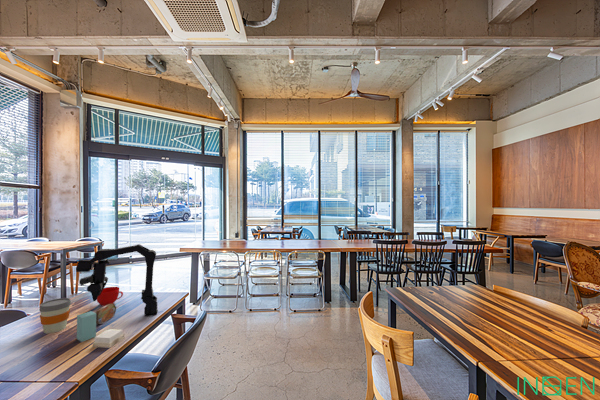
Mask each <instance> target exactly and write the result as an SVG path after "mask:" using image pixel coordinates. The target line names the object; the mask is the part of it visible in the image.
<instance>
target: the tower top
mask: <svg viewBox="0 0 600 400" xmlns="http://www.w3.org/2000/svg"><path fill="white" fill-rule="evenodd" d="M123 332H124V331H123V329H114V328H113V329H110V328H109V329H106V330H104V331H103V332H101V333H100V334H98V335H96V337H94V338H93V339H94V341H93V342H94V343H111V342H112V341H114V340H115V339H117V338H118V337H120V336H121V335H123V334H124V333H123Z"/></svg>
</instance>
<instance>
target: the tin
mask: <svg viewBox="0 0 600 400" xmlns="http://www.w3.org/2000/svg"><path fill="white" fill-rule="evenodd" d="M116 312H117V306H116V304H115V303H113V304H108V305H106V306H102V307H101V308H99V309H97V310H96V311H95V313H96V325H103V324H105V323H106V322H107V321H109V320H110V319H112V318H114V316H115V315H116Z"/></svg>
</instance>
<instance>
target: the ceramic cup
mask: <svg viewBox="0 0 600 400" xmlns="http://www.w3.org/2000/svg"><path fill="white" fill-rule="evenodd" d="M119 293H120V296H119ZM123 296H124V292H123V291H120V287H118V286H108V287H104V289H103V291H102V292H101V294H100V296H98V298H97V299H96V302H97V303H98V304H99V306H102V307H104V306H106V305H108V304H115V302H116V301H117V300H120V299H121V298H122V297H123Z"/></svg>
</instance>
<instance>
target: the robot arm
mask: <svg viewBox="0 0 600 400" xmlns="http://www.w3.org/2000/svg"><path fill="white" fill-rule="evenodd" d="M136 252H137V253H138V254H139V255H141V257H142V256H143V257H144V259H145V265H146V269H145V270H146V272H145V284H144V285H145V287H144V289H142V290H141V298H140V300H142V303H143V304H145V306H144V317H148V316H149V317H150V316H155V315H157V314H158V311H159V310H158V297H157V296H156V295H154V290H153V279H154V277H153V276H154V264H155V260H156V256H157V252H156V250H154V249H149V248H148V247H145V246H143V245H141V244H135V245H129V246H124V247H123V246H122V247H119V248H100V249H99V250H97V251H96V252H95V253H94V255H93V257H92V258H90V259H79V260H78V261H77V265H76V267H75V271H76V273H83V272H84V273H88V272H91V271H92V270H93V272H92V273H91V275H89V276H85V277H82V278H80V279H79V280H78V281H79V282H78V284H79V285H80V286H85V285H86V284H89V283H90V284H89V285H87V288H86V291H87V292H89V293H91V297H92V301H93V302H97V298H98V296H100V294H101V292H102V291H103V289H104V288H106V287H105V286H106V285H107V284H108V282H109V277H107V276H106V274H107V272H106V271H107V265H109V264H110V263H111V260H109V258H113V257H115V256H120V255H125V254H129V253H130V254H131V253H136Z"/></svg>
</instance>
